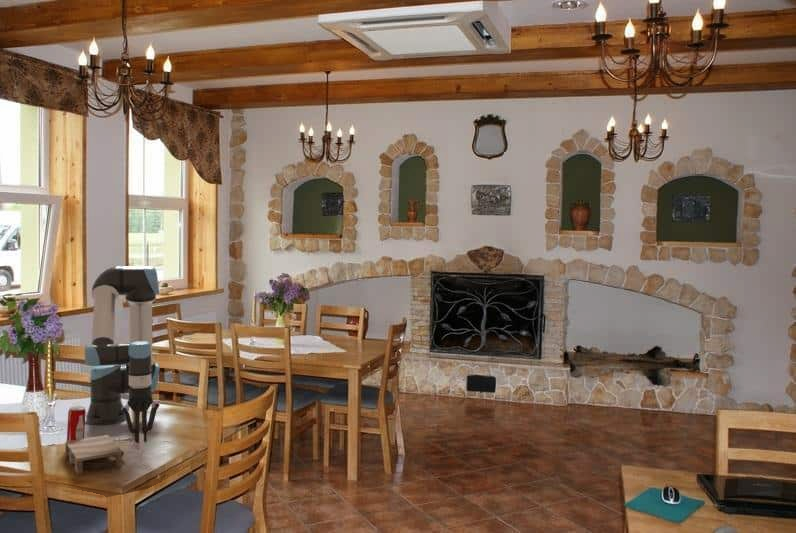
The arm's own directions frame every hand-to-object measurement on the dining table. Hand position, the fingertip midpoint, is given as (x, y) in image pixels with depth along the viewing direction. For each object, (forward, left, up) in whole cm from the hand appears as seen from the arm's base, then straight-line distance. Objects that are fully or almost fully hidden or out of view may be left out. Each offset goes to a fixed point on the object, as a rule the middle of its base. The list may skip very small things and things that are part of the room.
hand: (140, 451), depth 245 cm
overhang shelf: (0, -16, -1) cm, 16 cm away
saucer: (0, -13, -2) cm, 13 cm away
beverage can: (-19, -18, -2) cm, 26 cm away
